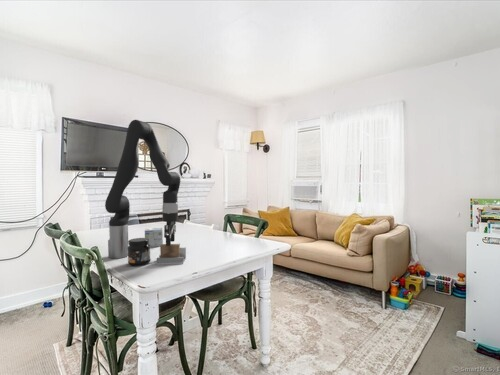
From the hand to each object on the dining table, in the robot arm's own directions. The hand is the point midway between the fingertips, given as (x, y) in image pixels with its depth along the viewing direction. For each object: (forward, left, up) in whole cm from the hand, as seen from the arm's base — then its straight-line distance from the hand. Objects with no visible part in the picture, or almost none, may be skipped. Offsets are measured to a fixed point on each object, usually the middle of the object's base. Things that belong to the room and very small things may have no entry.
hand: (170, 243), depth 138 cm
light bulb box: (-19, +36, -10) cm, 42 cm away
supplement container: (-15, -1, -10) cm, 18 cm away
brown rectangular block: (0, 0, -9) cm, 9 cm away
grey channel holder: (0, 0, -9) cm, 9 cm away
